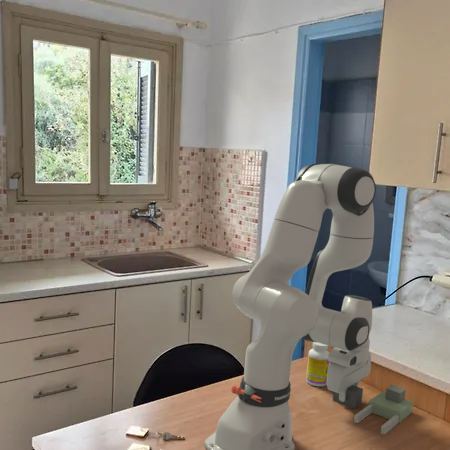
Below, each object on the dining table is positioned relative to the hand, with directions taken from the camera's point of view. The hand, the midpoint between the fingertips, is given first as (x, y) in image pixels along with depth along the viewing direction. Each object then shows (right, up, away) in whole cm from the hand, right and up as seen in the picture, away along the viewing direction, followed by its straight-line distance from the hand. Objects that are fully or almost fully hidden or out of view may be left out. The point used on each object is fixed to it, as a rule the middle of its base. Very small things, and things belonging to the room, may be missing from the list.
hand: (347, 397), depth 148 cm
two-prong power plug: (+8, -3, -7) cm, 11 cm away
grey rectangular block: (0, -2, 0) cm, 2 cm away
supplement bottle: (-7, 0, +12) cm, 14 cm away
